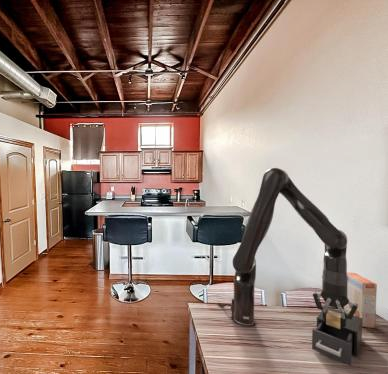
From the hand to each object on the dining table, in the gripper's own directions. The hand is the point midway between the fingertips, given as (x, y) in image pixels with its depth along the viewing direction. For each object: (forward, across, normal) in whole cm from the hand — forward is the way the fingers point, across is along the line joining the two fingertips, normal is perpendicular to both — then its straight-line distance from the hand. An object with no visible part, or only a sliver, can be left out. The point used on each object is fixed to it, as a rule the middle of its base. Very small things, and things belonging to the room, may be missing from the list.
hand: (334, 323), depth 91 cm
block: (0, 0, 0) cm, 0 cm away
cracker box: (+12, -3, -38) cm, 40 cm away
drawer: (+11, 0, +1) cm, 11 cm away
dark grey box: (+11, 0, -12) cm, 16 cm away
